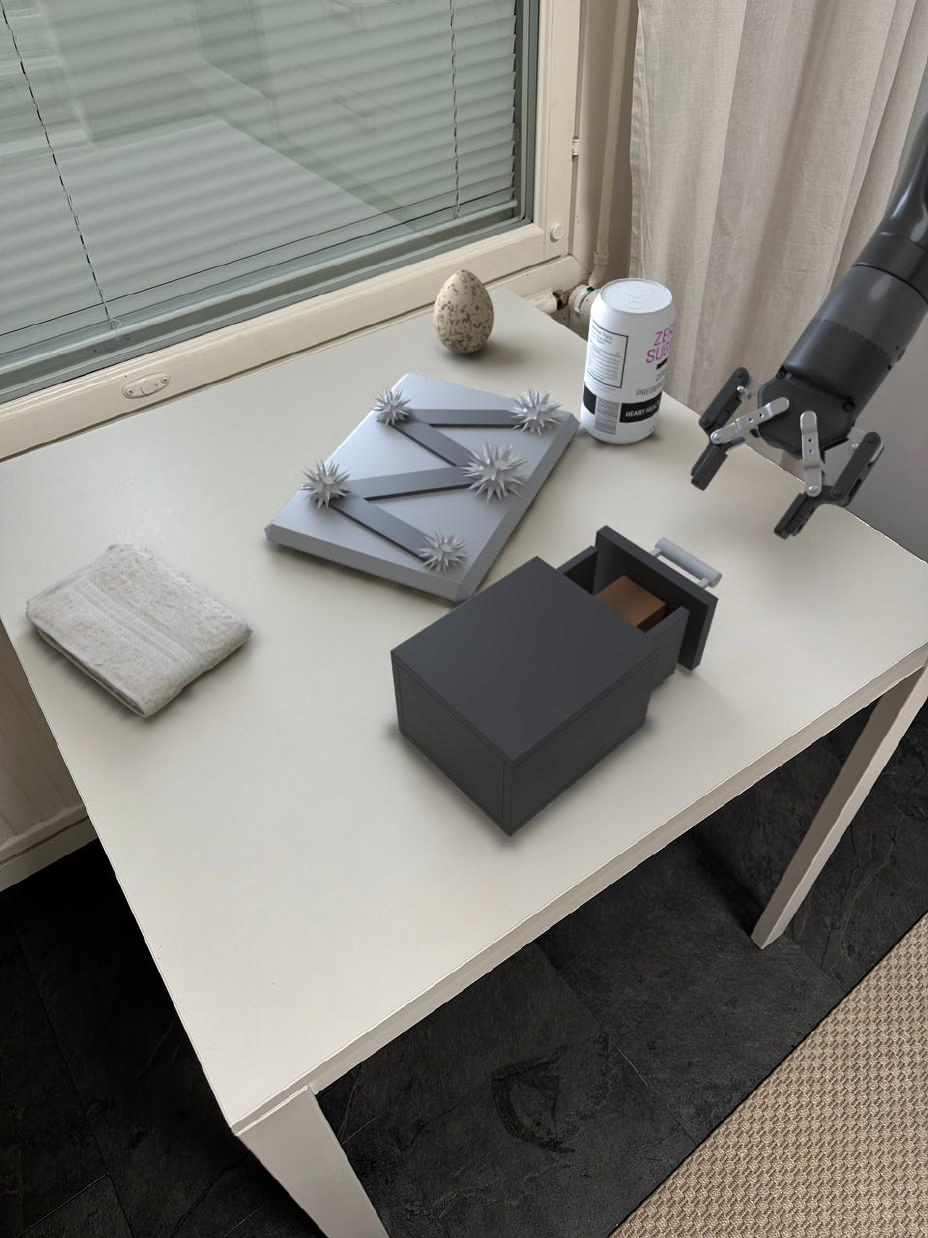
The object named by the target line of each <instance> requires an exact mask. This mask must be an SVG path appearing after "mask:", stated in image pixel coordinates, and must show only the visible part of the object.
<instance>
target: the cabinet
mask: <svg viewBox="0 0 928 1238" xmlns="http://www.w3.org/2000/svg"><path fill="white" fill-rule="evenodd" d="M661 648H662V645H661V644H660V643H658V642H657V641H655V640H654V639H653V638H651V637H650V636H648V635H647V634H646V633H644V632H643V631H641V630H640V629H639V628H637V627H636V626H635V625H633V624H632V623H630V622H629V621H628V620H626V619H625V618H623V617H622V616H621V615H619V614H618V613H616V612H615V611H614V610H612V609H611V608H609V607H608V606H607V605H605V604H604V603H602V602H601V601H600V600H598V599H597V598H595V597H594V596H593V595H591V594H590V593H588V592H587V591H586V590H584V589H583V588H581V587H580V586H579V585H577V584H576V583H575V582H573V581H572V580H570V579H569V578H568V577H566V576H565V575H563V574H562V573H561V572H559V571H558V570H556V568H555V567H553V565H551V564H550V563H548V562H547V561H545V560H544V559H543V558H541V557H540V556H538V555H534V556H533V557H532V558H531V559H529V560H527V561H526V562H524V563H522V564H521V565H519V566H518V567H516V568H515V569H514V570H512V571H510V572H509V573H507V574H505V575H504V576H503V577H501V578H499V579H498V580H497V581H495V582H494V583H492V584H490V585H489V586H487V587H486V588H485V589H482V590H481V591H480V592H478V593H476V594H475V595H472V597H471V598H468V599H466V601H463V603H461V604H460V605H459V606H457V607H455V608H454V609H451V610H450V611H449V612H448V613H445V614H444V615H443V616H441V617H440V618H438V619H436V620H435V621H433V622H432V623H430V624H429V625H427V626H426V627H424V628H423V629H421V630H420V631H418V632H416V633H415V634H414V635H412V636H410V637H409V638H407V639H406V640H404V641H403V642H401V643H400V644H398V645H396V646H395V647H393V648H392V649H390V651H389V652H390V662H391V670H392V679H393V689H394V697H395V705H396V707H395V708H396V717H397V722H398V723H397V724H398V731H399V732H401V734H403V736H405V738H407V739H408V740H409V741H410V742H411V743H412V744H413V745H414V746H415V747H416V748H417V749H418V750H419V751H420V752H421V753H422V754H423V755H424V756H425V757H426V758H427V759H428V760H429V761H431V763H433V764H434V766H435V767H436V768H437V769H439V771H441V772H442V773H443V774H444V775H445V776H446V777H447V778H448V779H449V780H450V781H451V782H452V783H453V784H454V785H455V786H456V787H457V788H459V790H460V791H461V792H462V793H463V794H464V795H466V796H467V797H468V798H469V800H471V801H472V802H473V803H474V804H475V805H476V806H477V807H478V808H479V809H480V810H481V811H482V812H483V813H484V814H485V815H486V816H487V817H489V819H491V821H493V822H494V824H496V825H497V827H499V829H501V831H503V832H504V833H505V834H506V835H507V836H508V837H511V836H513V835H514V834H515V833H516V832H517V831H519V830H520V829H521V828H523V826H524V825H526V824H527V823H528V822H530V821H531V820H532V819H533V818H534V817H536V816H537V815H538V814H539V813H540V812H542V811H543V810H544V809H545V808H546V807H547V806H549V805H550V804H552V802H554V801H555V800H556V799H557V798H558V797H560V796H561V795H562V794H563V793H564V792H566V791H567V790H568V789H569V788H570V787H572V786H573V785H574V784H575V783H576V782H578V781H579V780H580V779H581V778H582V777H584V776H585V775H586V774H587V773H589V772H590V771H591V770H593V768H594V767H596V766H597V765H598V764H599V763H600V762H602V761H603V760H604V759H605V758H607V756H609V755H610V754H611V753H612V752H613V751H615V750H617V748H619V747H620V746H621V745H622V744H624V742H626V741H627V740H628V739H629V738H631V737H632V736H633V735H634V734H635V733H637V732H638V731H639V730H640V729H642V728H643V726H644V725H645V722H646V717H647V713H648V708H649V704H650V700H651V695H652V692H653V691H652V687H653V683H654V679H655V674H656V670H657V666H658V661H659V657H660V652H661Z"/></svg>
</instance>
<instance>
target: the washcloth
mask: <svg viewBox="0 0 928 1238" xmlns="http://www.w3.org/2000/svg"><path fill="white" fill-rule="evenodd" d="M26 605H27V606H26V611H25V616H26V618H27V619H28V620H29V622H31V623H32V624H33V626H35V627H36V630H37V631H38V633H39V635H40V636H41V637H42V639H43V640H45V642H47V643H48V644H49V645H50V646H51V647H52V648H54V649H55V650H56V651H58V652H60V653H61V654H62V655H63V656H64V657H66V658H67V659H68V660H69V661H70V662H71V663H73V665H75V666H76V667H77V668H78V669H80V670H81V671H82V672H83V673H84V674H85V675H87V676H88V677H89V678H91V679H92V680H94V681H95V682H97V684H99V685H100V686H101V687H103V688H104V689H105V690H106V691H107V692H109V693H110V694H111V695H112V696H114V698H116V699H117V700H118V701H119V702H120V703H122V704H123V705H124V706H125V707H127V708H128V709H129V710H131V711H132V712H134V714H136V715H138V716H139V717H141V718H148V717H149V716H151V715H154V714H155V713H157V712H158V711H159V710H161V709H162V708H163V707H165V706H166V705H168V703H170V702H171V701H172V700H173V699H174V698H176V697H177V696H179V694H180V693H181V692H182V690H183V689H184V688H185V687H186V686H187V685H189V683H192V682H193V681H194V680H195V679H196V678H199V677H200V676H201V675H202V674H203V673H204V672H206V671H210V670H213V668H214V667H215V666H217V665H219V663H220V662H221V661H224V660H225V659H226V658H227V657H228V656H229V655H231V654H232V653H233V652H235V651H236V650H237V649H238V648H239V647H241V646H242V645H243V644H244V643H245V642H247V641H248V639H250V637H251V635H252V634H253V633H254V632H253V630H252V629H251V627H250V625H249V624H248V622H245V619H244V618H243V617H240V616H238V615H237V614H236V613H235V612H234V611H232V610H230V609H229V608H228V607H225V605H224V604H223V603H220V602H218V601H217V599H215V598H214V597H212V596H210V595H209V594H207V593H206V592H204V591H203V590H202V589H201V588H199V587H197V586H196V585H195V584H193V582H192V580H188V579H187V578H185V577H184V576H182V575H181V574H179V573H177V571H176V570H175V569H172V568H171V567H169V566H167V565H166V564H165V563H164V562H163V561H161V560H159V558H156V557H155V556H154V555H153V554H151V553H150V552H149V551H148V550H147V549H145V548H144V547H143V546H141V545H139V544H138V543H136V541H131V540H124V541H122V542H121V543H114V544H110V545H109V546H108V548H107V549H106V550H105V551H104V552H103V553H102V554H101V555H99V556H98V557H96V558H95V559H94V560H91V562H89V563H87V564H85V565H83V566H81V567H80V568H78V569H77V570H75V571H74V572H72V573H70V574H68V575H67V576H65V577H62V579H59V580H57V581H55V582H54V583H52V584H50V585H49V586H47V587H46V588H45V589H43V590H42V591H40V592H39V593H37V594H35V595H34V596H33V597H30V598H27V600H26Z"/></svg>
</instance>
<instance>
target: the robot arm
mask: <svg viewBox="0 0 928 1238" xmlns="http://www.w3.org/2000/svg"><path fill="white" fill-rule="evenodd" d="M927 314H928V109H927V110H926V112H925V114H924V115H923V117H922V119H921V121H920V123H919V125H918V127H917V129H916V132H915V134H914V137H913V140H912V143H911V146H910V149H909V152H908V155H907V159H906V160H905V164H904V167H903V170H902V174H901V176H900V179H899V181H898V184H897V187H896V189H895V192H894V194H893V196H892V199H891V200H890V202H889V206H888V207H887V209H886V211H885V212H884V214H883V216H882V218H881V220H880V222H879V223H878V225H877V226H876V228H875V230H874V231H873V233H872V235H871V236H870V237H869V239H868V241H867V242H866V243H865V245H864V247H863V248H862V249H861V251H860V252H859V254H858V255H857V257H856V258H855V260H854V261H853V263H852V264H851V266H850V267H849V269H848V270H847V272H846V273H845V274H844V275H843V276H842V277H841V279H839V281H838V282H837V283H836V284H835V286H834V287H833V288H832V289H831V291H830V292H829V293H828V295H827V296H826V297H825V298H824V300H823V302H822V304H821V305H820V307H818V309H817V311H816V312H815V314H814V315H813V317H812V318H811V320H810V321H809V323H808V324H807V326H806V327H805V329H804V330H803V332H802V333H801V335H800V336H799V337H798V339H797V341H796V342H795V344H794V345H793V347H792V348H791V349H790V351H789V353H788V354H787V356H786V357H785V358H784V360H783V362H782V363H781V365H780V367H779V368H778V371H777V372H776V373H775V375H774V376H773V377H771V379H769V380H768V381H766V382H763V381H762V380H760V379H758V378H756V377H755V376H753V375H751V374H750V372H749V371H748V369H747V368H745V367H744V366H739V367H737V368H736V369H734V371H733V372H732V373H731V375H729V376H730V377H729V378H728V379H727V381H726V382H725V383H724V384H723V386H722V387H721V388H720V390H719V391H718V392H717V394H716V396H715V397H714V398H713V399H712V401H711V402H710V403H709V405H708V406H707V407H706V409H705V410H704V411H703V413H702V414H701V416H700V417H699V419H698V426H699V427H700V428H701V429H702V431H703V432H704V433H705V434H706V436H707V437H708V443H707V445H706V446H705V448H704V450H703V451H702V453H701V454H700V456H699V457H698V459H697V460H696V461H695V463H694V464H693V466H692V467H691V470H690V476H691V480H690V484H691V485H692V486H693V487H695V488H697V489H698V490H700V491H701V492H704V491H705V490H706V489H708V486H709V485H710V483H711V482H712V480H713V479H714V478H715V476H716V474H717V473H718V471H719V470H720V469H721V467H722V466H723V464H724V463H725V461H726V460H727V459H728V457H729V455H728V454H727V452H730V451H732V450H734V449H736V448H738V447H741V446H743V445H745V444H753V443H756V442H758V441H760V440H763V441H764V442H765V443H766V445H769V446H770V447H772V448H774V449H779V450H782V451H784V452H785V453H786V454H787V455H788V456H790V457H791V458H793V459H794V460H797V461H799V460H802V465H803V469H804V485H805V486H804V487H805V488H804V489H805V490H804V492H803V493H801V492H798V494H797V495H796V497H795V498H794V499H793V501H792V502H791V504H790V505H789V507H788V508H787V509H786V511H785V512H784V514H783V515H782V516H781V518H780V520H779V521H777V524H776V525H775V526H774V528H773V534H775V536H777V537H779V538H780V539H782V540H784V541H785V540H787V539H788V538H789V537H790V536H792V537H797V535H799V534H800V533H801V532H802V530H804V528H805V526H806V525H807V523H808V522H809V520H810V519H811V517H812V516H813V515H814V513H815V512H816V510H817V509H818V508H819V507H821V506H823V505H831V506H836V507H838V508H842V509H844V508H846V507H849V506H850V504H851V502H853V500H854V498H855V497H856V495H857V494H858V492H859V490H860V489H861V487H862V486H863V484H864V483H865V481H866V479H867V478H868V476H869V475H870V473H871V471H872V469H873V468H874V467H875V465H876V463H877V462H878V461H879V458H880V457H881V456H882V454H883V452H884V450H885V444H884V442H883V439H882V437H881V436H880V434H879V433H878V432H876V431H870V432H866V431H864V430H861V429H859V428H857V427H855V425H856V421H857V419H858V417H859V416H860V414H862V412H863V411H864V409H865V408H866V407H867V405H868V404H869V402H870V401H871V399H872V398H873V396H874V395H875V393H876V392H877V391H878V389H879V388H880V387H881V385H882V384H883V383H884V381H885V380H886V379H887V377H888V376H889V374H890V372H892V370H893V368H894V367H895V365H896V364H897V363H898V362H900V360H901V359H902V358H903V356H904V355H905V353H906V350H907V348H908V347H909V346H910V344H911V342H912V341H913V340H914V337H915V336H916V334H917V332H918V330H919V329H920V326H921V324H922V323H923V321H924V319H925V317H926V315H927ZM756 396H757V409H755V410H753V411H750V412H748V413H746V414H744V415H742V416H739V417H738V418H736V419H735V420H734V422H732V423H730V424H728V425H727V423H728V421H730V419H731V418H732V416H733V415H734V413H735V412H736V411H737V410H738V408H739V407H740V406H741V404H742V403H745V402H749V401H750V400H751V399H752V398H754V397H756ZM848 441H849V442H850V444H849V447H848V453H849V455H850V458H849V460H848V462H847V464H846V465H845V466H844V468H843V470H842V471H841V473H840V475H839V477H838V478H837V479H836V481H835V483H834V484H833V485H828V484H827V476H828V459H827V451H829V450H831V449H834V448H836V447H839V446H841V445H843V444H845V443H847V442H848Z"/></svg>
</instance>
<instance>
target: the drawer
mask: <svg viewBox="0 0 928 1238" xmlns="http://www.w3.org/2000/svg"><path fill="white" fill-rule="evenodd" d="M594 539H595V540H594V546H593V545H589V546H587V547H586V548H585V549H584V550H582V551H580V552H579V553H578V554H576V555H574V556H573V557H571V558H570V559H568V560H567V561H565V562H564V563H562V564H561V565H559V566H558V567H556V568H555V569H556V570H558V571H559V572H561V573H562V574H563V575H565V576H566V577H568V578H569V579H570V580H572V581H573V582H575V583H576V584H577V585H579V586H580V587H581V588H583V589H584V590H586V591H587V592H588V593H590V594H591V595H593V596H595V595H596V594H598V593H599V592H601V591H602V590H604V589H605V588H606V587H608V586H609V585H611V584H612V583H614V582H615V581H616V580H618V579H619V578H621V577H622V576H623V575H625V576H626V577H628V578H629V579H631V580H632V581H634V582H635V583H637V584H638V585H640V586H641V587H642V588H644V589H645V590H647V591H648V592H650V593H651V594H653V595H654V596H656V597H657V598H658V599H660V600H661V601H663V602H664V603H666V606H665V610H664V615H663V619H662V621H661V622H660V623H659V624H657V625H656V626H655V627H653V628H652V629H651V630H650V631H648V632H647V633H646V634H647V635H648V636H650V637H651V638H653V639H654V640H655V641H657V642H658V643H660V644H661V645H662V648H661V652H660V657H659V661H658V666H657V670H656V674H655V679H654V683H653V687H652V692H653V691H654V690H655V689H656V688H658V687H659V686H660V685H662V684H663V683H664V682H665V681H667V680H668V679H669V678H670V677H671V676H673V675H674V674H675V670H676V667H677V664H679V665H680V666H682V667H683V668H685V669H686V670H687V671H688V672H693V671H694V670H695V669H697V667H699V666H700V665H701V662H702V658H703V654H704V652H705V648H706V645H707V640H708V638H709V633H710V631H711V627H712V623H713V619H714V617H715V612H716V609H717V606H718V602H719V597H717V596H716V595H714V594H712V593H711V592H709V590H706V589H707V588H708V587H710V588H711V589H714V588H715V587H717V586H718V585H719V583H720V582H721V580H722V578H723V574H722V573H721V572H720V571H718V570H716V569H715V568H714V567H712V566H711V565H709V564H707V563H706V562H704V561H702V560H701V559H699V558H698V557H696V556H694V554H691V553H690V552H688V551H687V550H686V549H684V548H682V547H681V546H679V545H677V544H676V543H674V542H673V541H671V540H669V539H668V538H667V537H665V536H663V537H661V538H659V539H658V540H657V542H656V543H655V545H654V548H653V549H652V550H650V551H649V552H648V551H647V550H645V549H644V548H643V547H641V546H639V545H638V544H636V543H635V542H634V541H632V540H630V539H629V538H628V537H625V536H624V535H622V534H621V533H620V532H618V531H616V530H615V529H613V528H611V526H609V525H607V524H605V525H603V526H602V527H601V528H599V529H597V530H596V532H595V538H594ZM660 556H662V557H663V558H665V559H666V560H668V561H669V562H671V563H673V564H674V565H676V566H677V567H678V568H680V569H681V570H683V571H684V572H686V573H687V574H689V575H691V576H692V577H694V578H695V579H697V580H699V581H698V582H697V583H696V582H694V581H693V580H691V579H690V578H688V577H687V576H685V575H683V574H682V573H681V572H679V571H677V570H676V569H675V568H673V567H671V566H670V565H668V564H667V563H666V562H664V561H662V560H661V559H659V557H660Z"/></svg>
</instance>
